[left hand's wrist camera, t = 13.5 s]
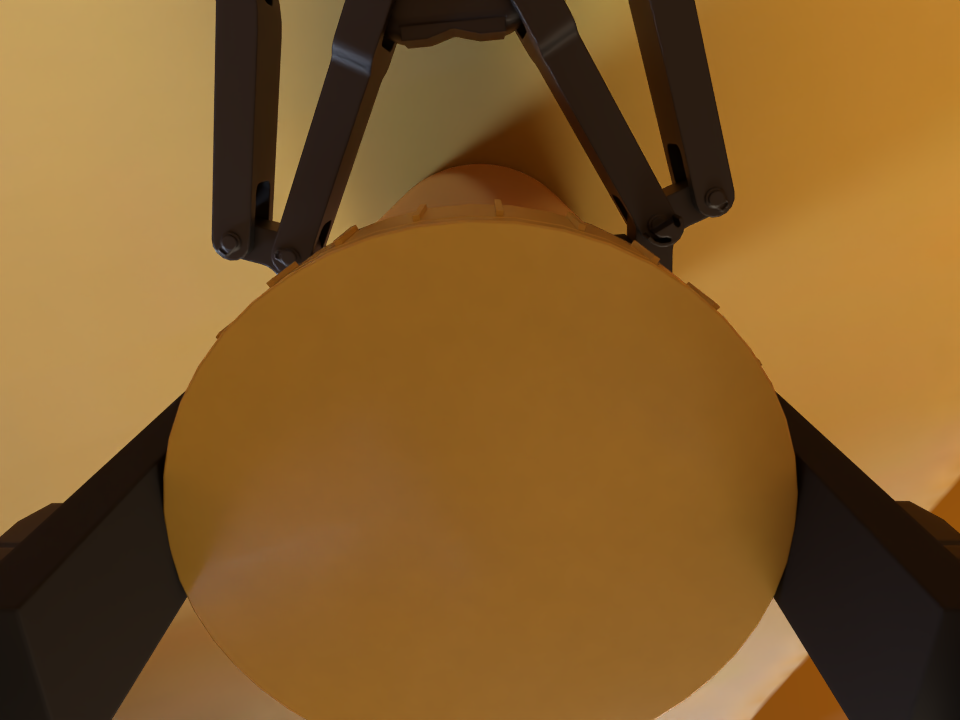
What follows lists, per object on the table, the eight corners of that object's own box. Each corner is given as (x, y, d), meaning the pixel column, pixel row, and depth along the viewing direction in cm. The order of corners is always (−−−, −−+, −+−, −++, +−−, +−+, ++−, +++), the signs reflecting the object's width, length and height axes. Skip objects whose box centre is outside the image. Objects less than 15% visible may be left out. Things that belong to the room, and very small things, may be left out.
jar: (606, 340, 30) (795, 666, 12) (414, 394, 31) (323, 771, 13) (555, 134, 27) (707, 160, 9) (343, 201, 28) (95, 347, 10)
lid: (790, 623, 13) (837, 699, 12) (326, 730, 14) (305, 815, 13) (702, 115, 10) (750, 114, 8) (104, 302, 11) (32, 337, 9)
